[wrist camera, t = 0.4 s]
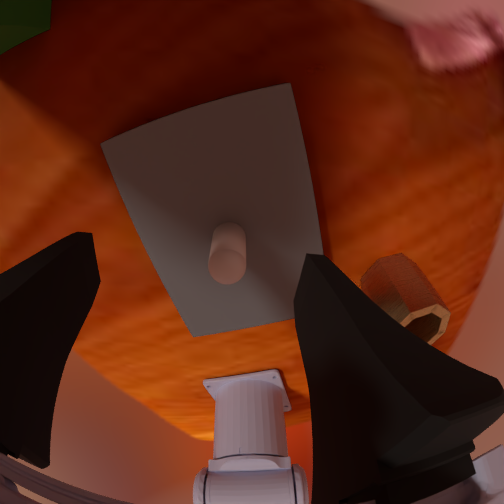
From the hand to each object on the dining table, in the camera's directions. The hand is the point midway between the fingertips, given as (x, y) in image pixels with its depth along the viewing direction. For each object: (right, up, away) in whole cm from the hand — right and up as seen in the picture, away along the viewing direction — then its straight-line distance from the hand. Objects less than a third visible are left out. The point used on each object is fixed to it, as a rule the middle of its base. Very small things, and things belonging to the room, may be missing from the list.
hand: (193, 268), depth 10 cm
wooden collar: (+13, -2, +13) cm, 18 cm away
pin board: (0, +2, +10) cm, 10 cm away
